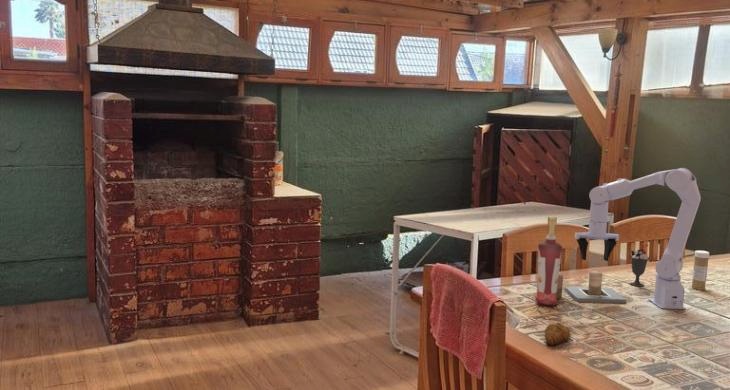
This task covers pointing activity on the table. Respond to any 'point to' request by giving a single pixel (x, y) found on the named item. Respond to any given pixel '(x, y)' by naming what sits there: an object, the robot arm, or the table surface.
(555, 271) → the liquor
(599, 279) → the slim peg
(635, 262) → the sundae
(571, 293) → the socket board
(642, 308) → the table surface
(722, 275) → the table surface
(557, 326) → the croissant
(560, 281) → the fat peg
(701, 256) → the sprinkles bottle
